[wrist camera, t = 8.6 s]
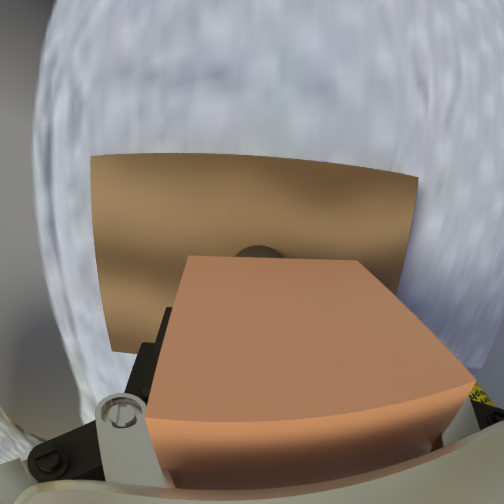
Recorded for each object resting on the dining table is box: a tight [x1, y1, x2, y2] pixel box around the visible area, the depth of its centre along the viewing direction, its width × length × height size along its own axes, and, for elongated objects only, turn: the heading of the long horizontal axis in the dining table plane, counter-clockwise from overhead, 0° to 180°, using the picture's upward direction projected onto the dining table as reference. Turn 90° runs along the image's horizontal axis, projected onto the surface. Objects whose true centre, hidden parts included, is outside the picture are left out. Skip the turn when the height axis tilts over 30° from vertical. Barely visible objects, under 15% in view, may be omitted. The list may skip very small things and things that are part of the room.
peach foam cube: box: [144, 255, 477, 490], centre depth 8 cm, size 6×6×7 cm
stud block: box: [91, 153, 419, 354], centre depth 14 cm, size 12×18×9 cm, turn 86°
